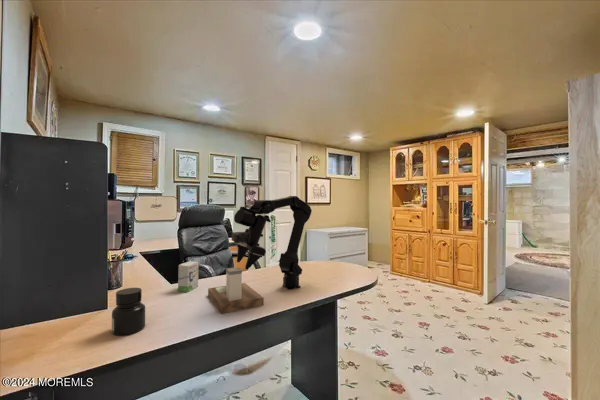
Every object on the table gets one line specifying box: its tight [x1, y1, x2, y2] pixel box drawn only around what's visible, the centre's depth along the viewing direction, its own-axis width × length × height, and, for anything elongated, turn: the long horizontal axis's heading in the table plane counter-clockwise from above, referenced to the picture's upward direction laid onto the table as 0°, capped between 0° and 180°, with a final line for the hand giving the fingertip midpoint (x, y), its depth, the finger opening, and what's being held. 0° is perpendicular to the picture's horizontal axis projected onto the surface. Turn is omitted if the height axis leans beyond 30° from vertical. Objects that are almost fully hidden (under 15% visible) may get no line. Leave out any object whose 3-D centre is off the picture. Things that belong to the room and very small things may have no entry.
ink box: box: [177, 261, 199, 293], centre depth 127 cm, size 9×5×12 cm, turn 168°
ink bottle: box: [111, 287, 146, 336], centre depth 88 cm, size 10×9×12 cm
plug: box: [225, 266, 243, 301], centre depth 107 cm, size 5×5×14 cm
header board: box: [207, 282, 264, 315], centre depth 113 cm, size 16×22×3 cm
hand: (242, 265), depth 114 cm, fingers open, 9 cm apart
